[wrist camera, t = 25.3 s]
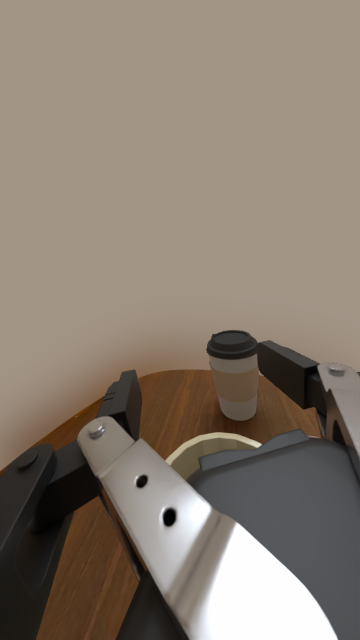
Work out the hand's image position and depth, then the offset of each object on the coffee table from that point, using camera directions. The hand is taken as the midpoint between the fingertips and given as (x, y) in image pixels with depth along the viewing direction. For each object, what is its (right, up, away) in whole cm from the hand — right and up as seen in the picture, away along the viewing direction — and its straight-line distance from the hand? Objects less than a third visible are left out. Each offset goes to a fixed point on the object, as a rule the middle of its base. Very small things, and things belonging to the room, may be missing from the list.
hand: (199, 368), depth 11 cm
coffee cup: (+10, -14, +23) cm, 29 cm away
